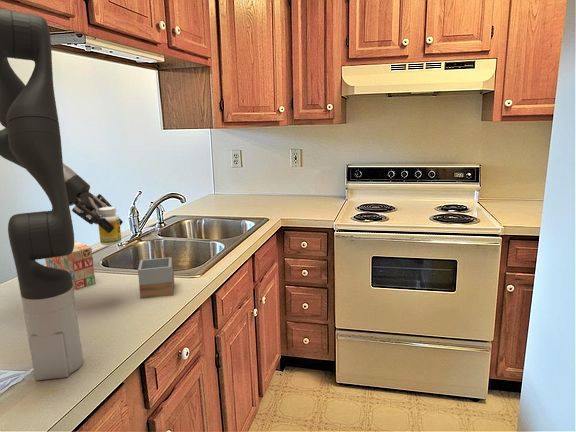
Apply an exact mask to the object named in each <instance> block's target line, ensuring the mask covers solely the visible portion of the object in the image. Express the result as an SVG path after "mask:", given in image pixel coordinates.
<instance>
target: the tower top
mask: <svg viewBox="0 0 576 432" xmlns="http://www.w3.org/2000/svg"><path fill="white" fill-rule="evenodd" d="M173 272H174V271H173V260H172V256H170V257H160V258H147V259H140V260H139V265H138V267H137V275H138V284H139V285H146V284H156V283H166V282H172V274H173Z"/></svg>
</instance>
